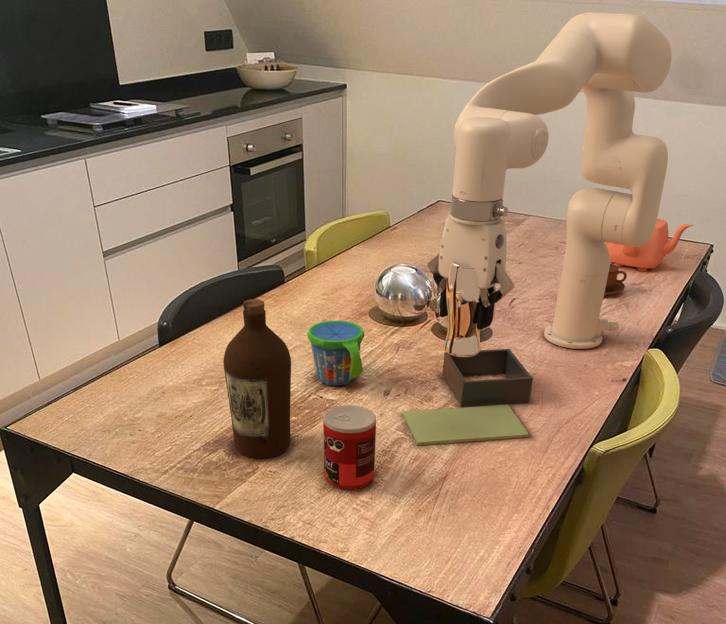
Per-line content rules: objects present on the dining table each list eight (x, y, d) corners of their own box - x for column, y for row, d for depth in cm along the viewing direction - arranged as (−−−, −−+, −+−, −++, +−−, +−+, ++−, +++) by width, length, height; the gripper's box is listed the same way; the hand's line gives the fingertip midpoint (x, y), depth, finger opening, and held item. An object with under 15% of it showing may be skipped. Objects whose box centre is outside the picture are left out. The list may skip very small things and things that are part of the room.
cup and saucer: (605, 281, 201) (610, 257, 198) (632, 296, 192) (638, 272, 188) (566, 285, 198) (570, 261, 194) (591, 301, 188) (596, 276, 185)
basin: (506, 371, 154) (509, 348, 151) (529, 402, 143) (533, 378, 141) (442, 375, 152) (444, 352, 149) (460, 407, 141) (463, 382, 138)
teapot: (681, 273, 208) (695, 221, 200) (620, 276, 204) (632, 224, 196) (646, 252, 222) (658, 203, 215) (589, 255, 219) (598, 206, 211)
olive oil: (249, 423, 134) (239, 286, 120) (304, 436, 131) (300, 296, 117) (219, 453, 126) (204, 309, 112) (276, 466, 123) (268, 320, 109)
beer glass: (481, 360, 124) (491, 269, 116) (438, 356, 125) (446, 265, 117) (484, 343, 130) (494, 255, 121) (443, 339, 131) (450, 252, 122)
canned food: (322, 464, 124) (322, 405, 118) (371, 463, 124) (373, 404, 118) (325, 491, 118) (324, 430, 111) (376, 490, 118) (378, 428, 112)
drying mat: (507, 407, 142) (508, 404, 141) (528, 437, 133) (529, 434, 132) (403, 414, 138) (403, 411, 138) (416, 445, 130) (417, 442, 129)
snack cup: (296, 367, 154) (294, 319, 148) (343, 358, 158) (343, 312, 152) (327, 400, 142) (327, 350, 136) (377, 390, 146) (379, 341, 140)
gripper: (539, 215, 112) (522, 329, 122) (445, 194, 122) (436, 301, 132) (511, 225, 107) (496, 343, 117) (415, 202, 117) (409, 313, 127)
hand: (464, 320), depth 124 cm, fingers closed on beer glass, 6 cm apart
